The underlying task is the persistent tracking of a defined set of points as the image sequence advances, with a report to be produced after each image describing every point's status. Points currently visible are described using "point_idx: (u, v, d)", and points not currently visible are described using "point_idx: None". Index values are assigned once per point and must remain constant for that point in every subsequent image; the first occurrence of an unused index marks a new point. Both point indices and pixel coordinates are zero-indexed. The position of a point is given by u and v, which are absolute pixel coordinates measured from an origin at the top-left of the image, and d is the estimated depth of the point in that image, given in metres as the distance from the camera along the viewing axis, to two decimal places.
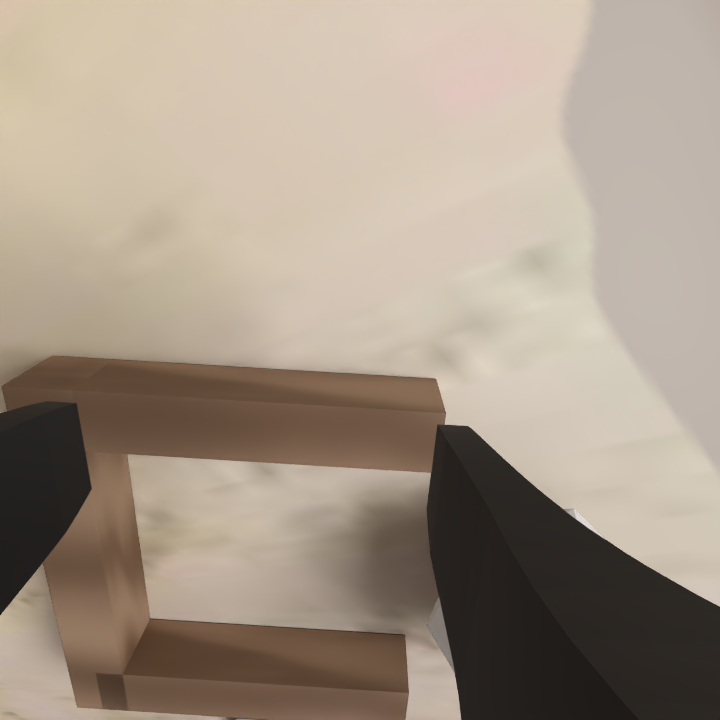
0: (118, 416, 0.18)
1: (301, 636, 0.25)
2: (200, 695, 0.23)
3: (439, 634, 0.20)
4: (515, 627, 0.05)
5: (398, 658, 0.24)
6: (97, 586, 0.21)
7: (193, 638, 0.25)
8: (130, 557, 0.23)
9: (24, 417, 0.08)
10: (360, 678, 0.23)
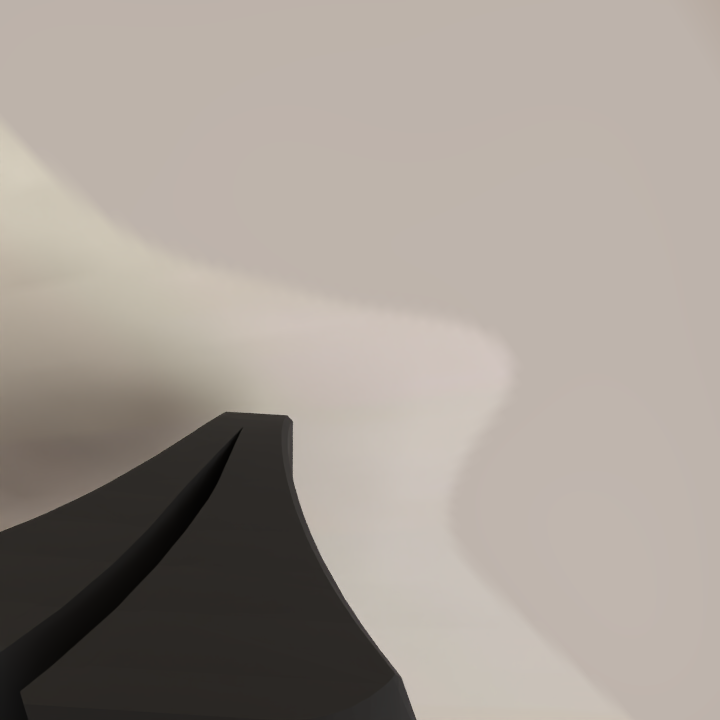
0: None
1: None
2: None
3: None
4: None
5: None
6: None
7: None
8: None
9: (228, 430, 0.08)
10: None
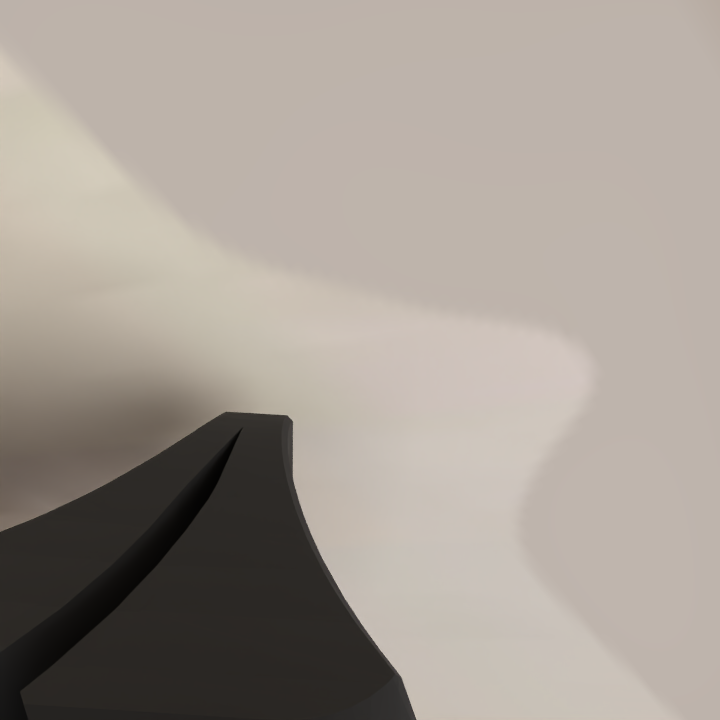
0: None
1: None
2: None
3: None
4: None
5: None
6: None
7: None
8: None
9: (229, 430, 0.08)
10: None
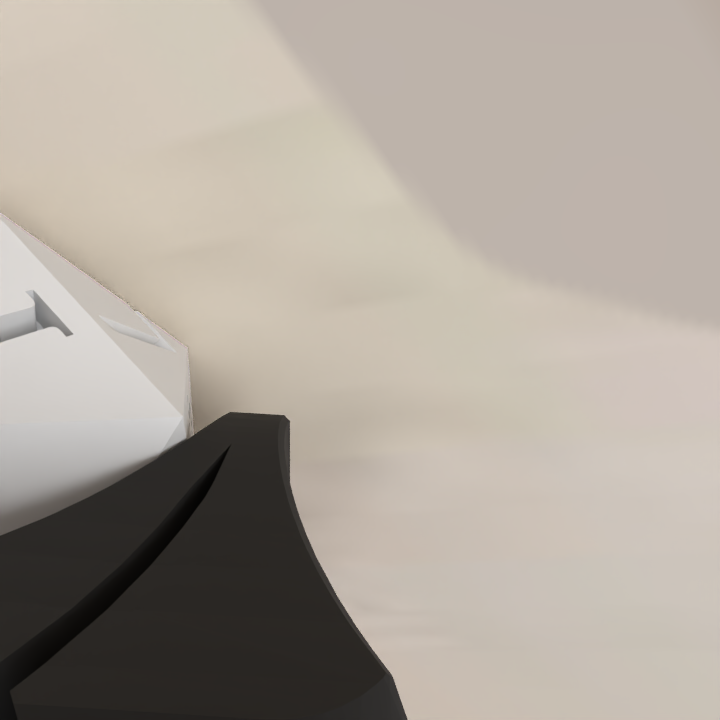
0: None
1: None
2: None
3: None
4: None
5: None
6: None
7: None
8: None
9: (233, 430, 0.08)
10: None
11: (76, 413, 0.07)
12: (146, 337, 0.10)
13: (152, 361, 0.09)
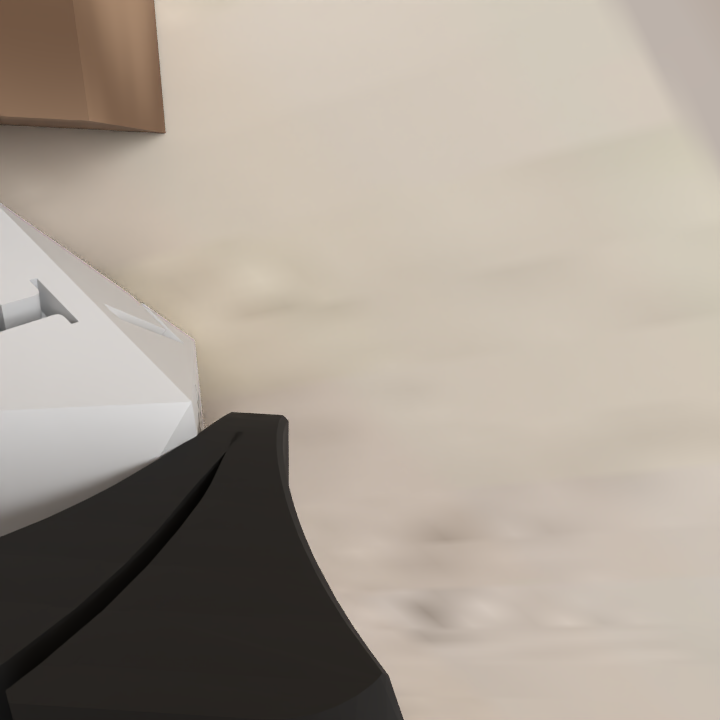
0: None
1: None
2: None
3: None
4: None
5: None
6: None
7: None
8: None
9: (235, 431, 0.08)
10: None
11: (84, 399, 0.07)
12: (152, 328, 0.10)
13: (159, 349, 0.09)
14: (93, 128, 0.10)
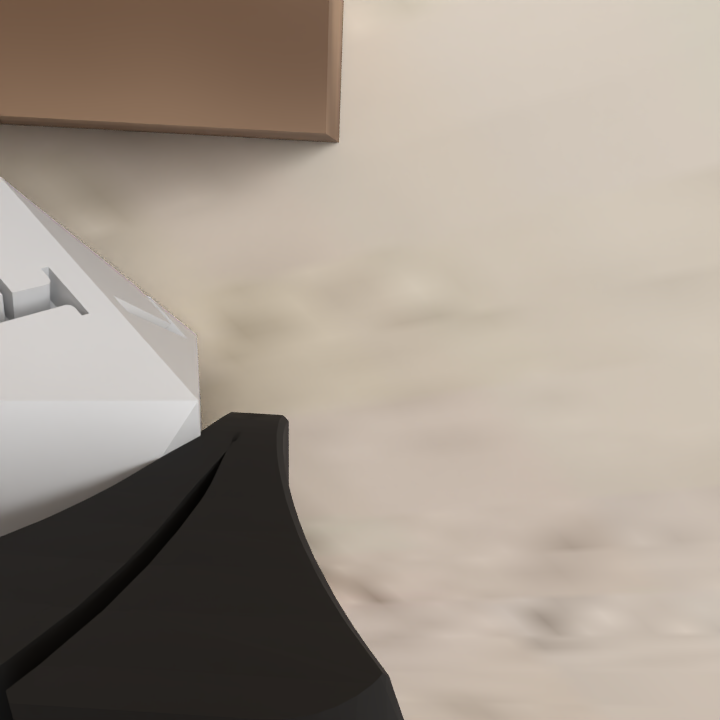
0: None
1: None
2: None
3: None
4: None
5: None
6: None
7: None
8: None
9: (234, 431, 0.08)
10: None
11: (92, 392, 0.07)
12: (158, 321, 0.10)
13: (166, 344, 0.08)
14: (272, 137, 0.10)
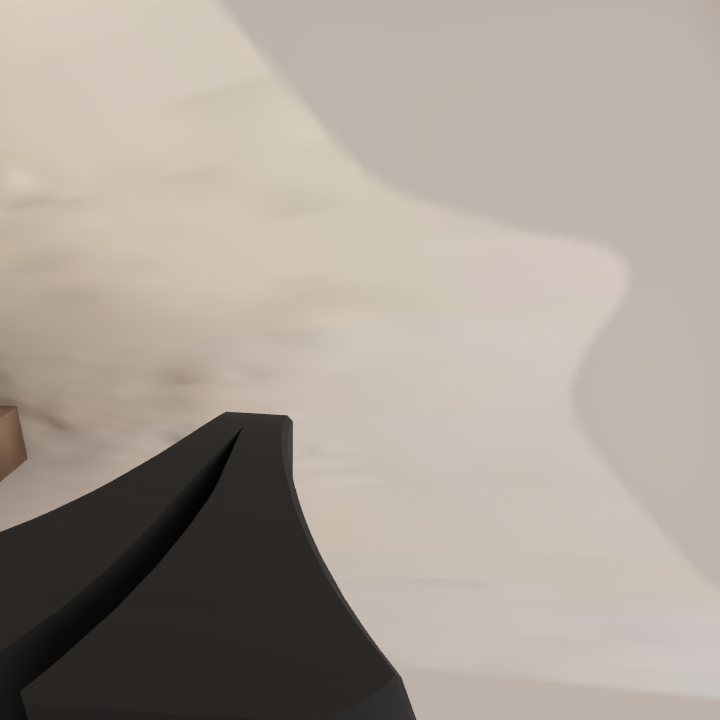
0: None
1: None
2: None
3: None
4: None
5: None
6: None
7: None
8: None
9: (229, 430, 0.08)
10: None
11: None
12: None
13: None
14: None
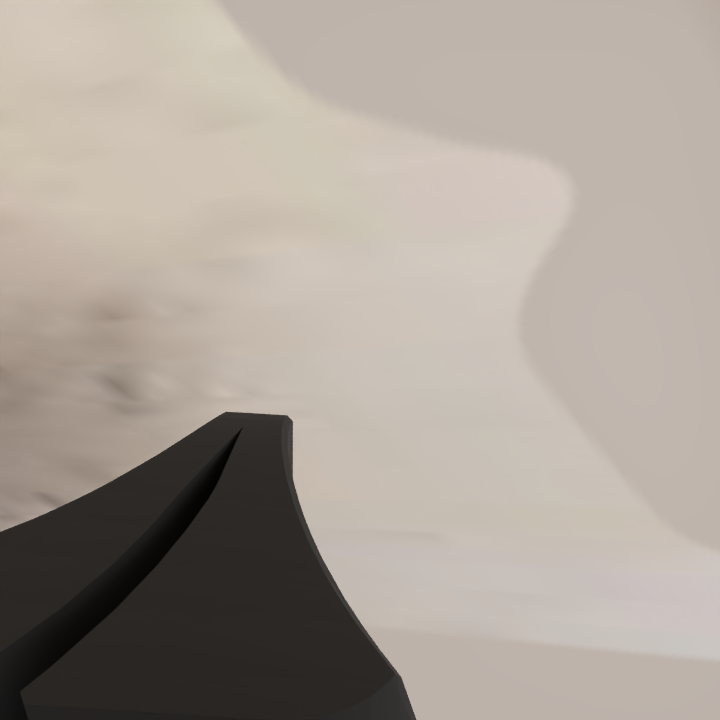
0: None
1: None
2: None
3: None
4: None
5: None
6: None
7: None
8: None
9: (228, 430, 0.08)
10: None
11: None
12: None
13: None
14: None
